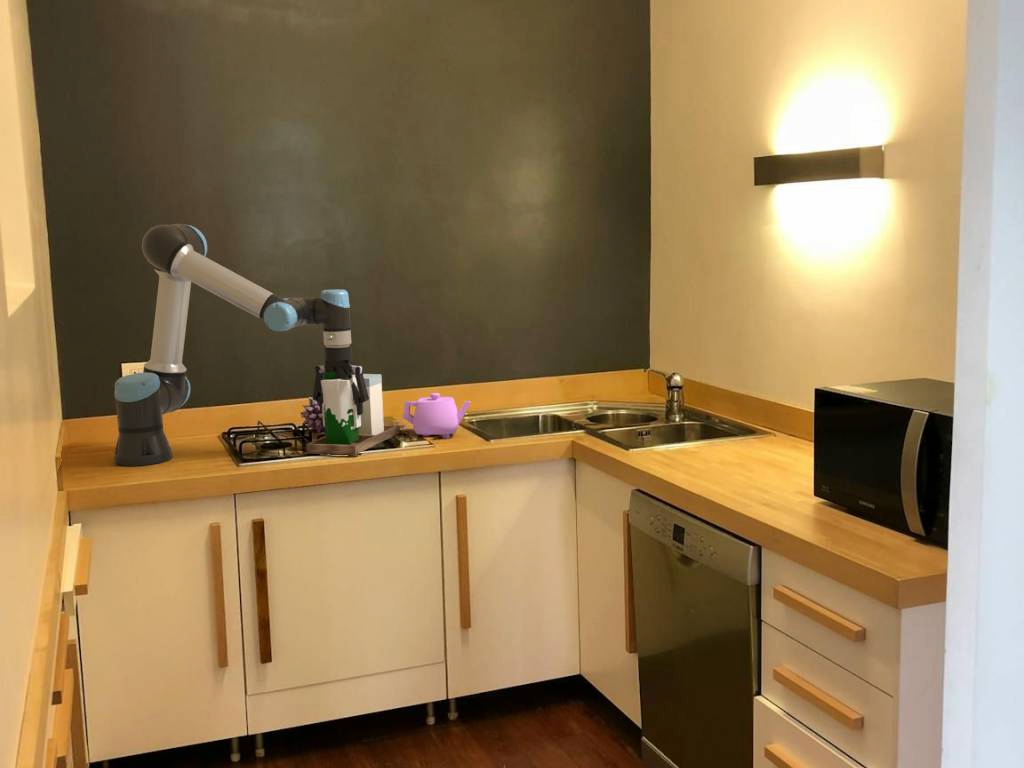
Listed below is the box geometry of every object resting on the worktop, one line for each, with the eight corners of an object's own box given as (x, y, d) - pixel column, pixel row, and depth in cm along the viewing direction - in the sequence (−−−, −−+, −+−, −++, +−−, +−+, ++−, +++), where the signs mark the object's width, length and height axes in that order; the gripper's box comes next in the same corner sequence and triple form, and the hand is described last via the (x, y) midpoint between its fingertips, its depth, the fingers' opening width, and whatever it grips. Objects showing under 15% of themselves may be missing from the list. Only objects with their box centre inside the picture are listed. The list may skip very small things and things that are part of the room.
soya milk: (333, 438, 302) (329, 368, 299) (363, 438, 300) (359, 368, 297) (321, 444, 293) (317, 373, 290) (352, 445, 291) (348, 373, 288)
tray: (306, 454, 292) (306, 444, 292) (354, 433, 319) (354, 423, 319) (355, 457, 287) (355, 446, 287) (400, 435, 315) (399, 425, 314)
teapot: (401, 441, 307) (399, 397, 305) (406, 432, 319) (404, 390, 317) (470, 439, 306) (468, 396, 304) (473, 430, 318) (471, 389, 316)
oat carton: (347, 439, 307) (343, 378, 305) (359, 433, 315) (356, 373, 312) (372, 440, 305) (369, 378, 302) (384, 434, 312) (381, 374, 310)
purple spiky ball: (293, 436, 318) (291, 397, 316) (314, 428, 329) (312, 390, 327) (327, 438, 314) (325, 398, 312) (347, 430, 325) (345, 392, 323)
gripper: (296, 347, 292) (301, 427, 296) (367, 348, 285) (371, 430, 289) (309, 343, 299) (314, 422, 303) (379, 344, 292) (383, 424, 296)
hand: (342, 426), depth 296 cm, fingers closed on soya milk, 9 cm apart
